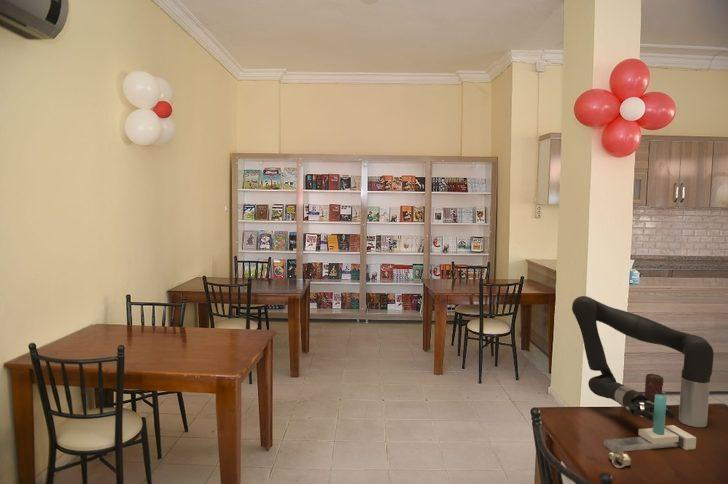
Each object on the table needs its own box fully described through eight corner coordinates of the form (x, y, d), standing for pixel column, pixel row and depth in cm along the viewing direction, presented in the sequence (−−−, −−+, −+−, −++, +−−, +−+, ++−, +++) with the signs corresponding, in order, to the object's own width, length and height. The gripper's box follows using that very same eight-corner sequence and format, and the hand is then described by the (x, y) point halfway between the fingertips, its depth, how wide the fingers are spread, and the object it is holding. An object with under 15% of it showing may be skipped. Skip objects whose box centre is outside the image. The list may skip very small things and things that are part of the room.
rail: (667, 439, 183) (667, 434, 183) (678, 446, 178) (678, 440, 178) (603, 445, 178) (603, 439, 178) (613, 452, 173) (613, 446, 173)
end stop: (672, 435, 186) (673, 425, 186) (695, 448, 177) (696, 437, 176) (661, 436, 185) (662, 425, 185) (684, 449, 176) (684, 438, 175)
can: (663, 412, 207) (666, 379, 206) (646, 411, 208) (648, 377, 207) (658, 407, 213) (660, 374, 211) (641, 405, 214) (643, 372, 213)
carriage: (662, 432, 184) (665, 391, 182) (678, 441, 177) (681, 399, 176) (638, 434, 182) (640, 393, 181) (652, 443, 175) (655, 401, 174)
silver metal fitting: (613, 455, 172) (614, 445, 171) (635, 463, 166) (636, 452, 166) (603, 463, 166) (603, 452, 166) (625, 472, 161) (625, 460, 161)
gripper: (614, 390, 191) (646, 408, 175) (647, 388, 194) (682, 405, 178) (613, 410, 192) (644, 429, 176) (646, 407, 195) (680, 426, 179)
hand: (663, 417), depth 177 cm, fingers open, 8 cm apart
